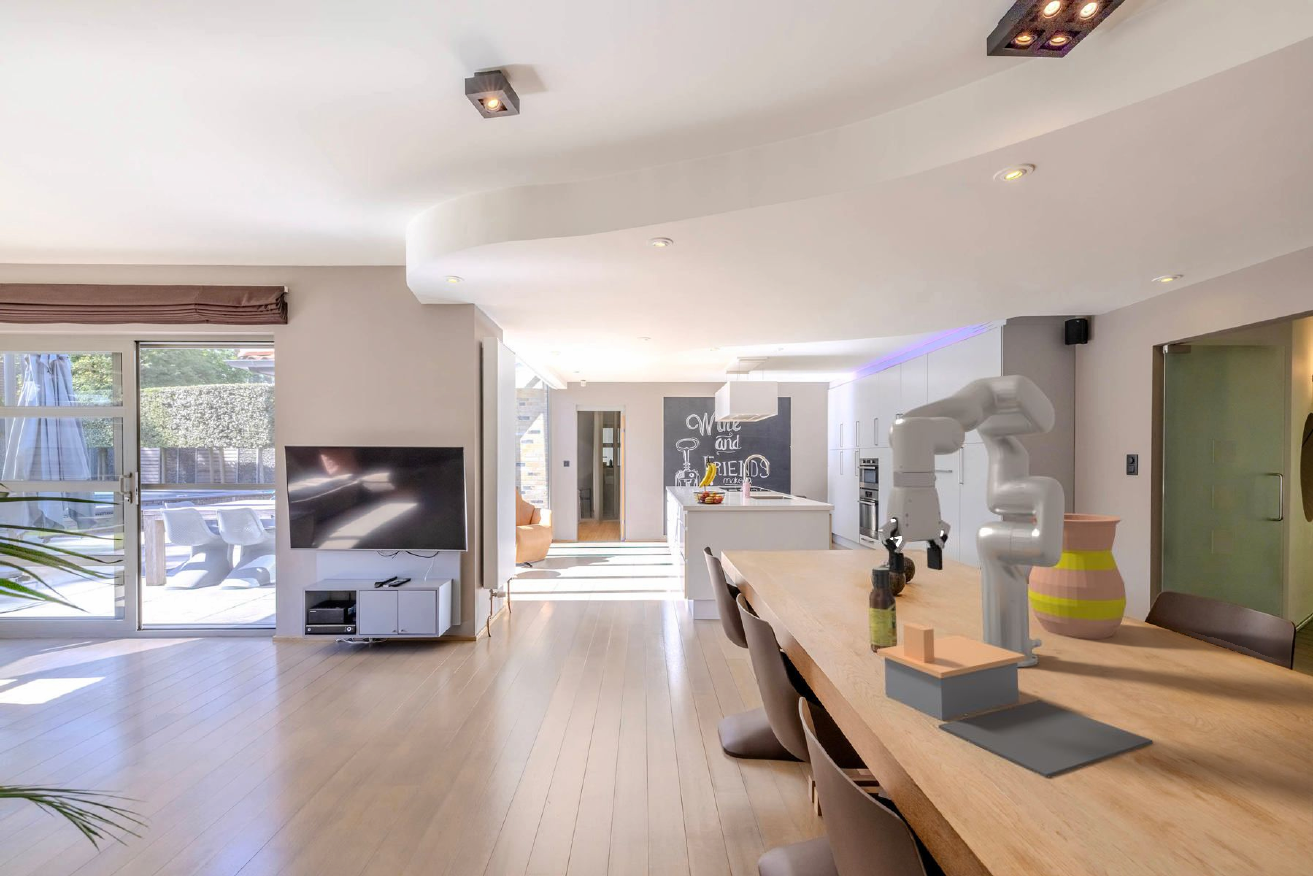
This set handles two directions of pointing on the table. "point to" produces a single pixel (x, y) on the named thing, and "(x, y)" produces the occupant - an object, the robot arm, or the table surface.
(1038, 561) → the robot arm
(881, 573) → the sauce bottle
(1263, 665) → the table surface
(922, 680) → the tub
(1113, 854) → the table surface
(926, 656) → the lid
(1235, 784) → the table surface
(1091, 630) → the vase
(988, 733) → the mat
